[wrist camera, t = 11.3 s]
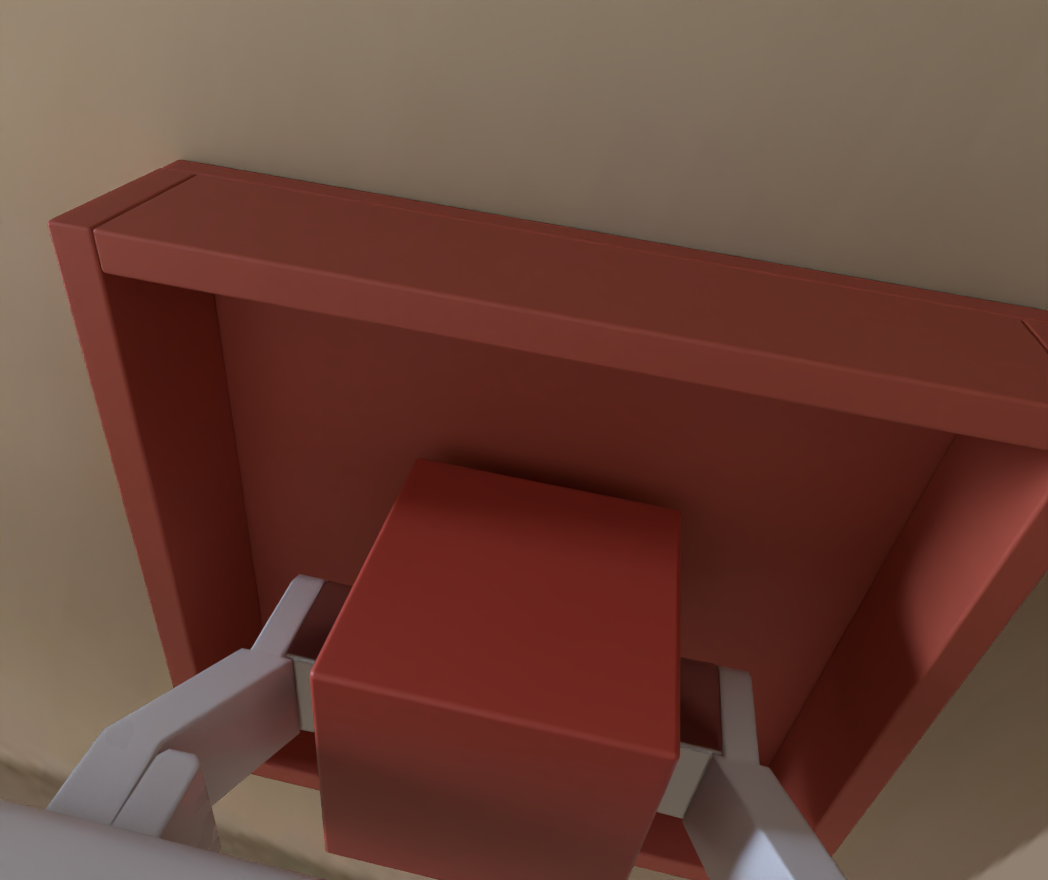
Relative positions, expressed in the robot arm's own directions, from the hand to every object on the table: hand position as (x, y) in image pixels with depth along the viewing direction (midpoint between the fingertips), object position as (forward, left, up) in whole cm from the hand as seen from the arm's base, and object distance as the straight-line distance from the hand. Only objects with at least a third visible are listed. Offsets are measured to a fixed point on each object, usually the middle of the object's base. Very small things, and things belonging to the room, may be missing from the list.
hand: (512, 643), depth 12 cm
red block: (0, 0, -2) cm, 2 cm away
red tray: (0, 0, -3) cm, 3 cm away
